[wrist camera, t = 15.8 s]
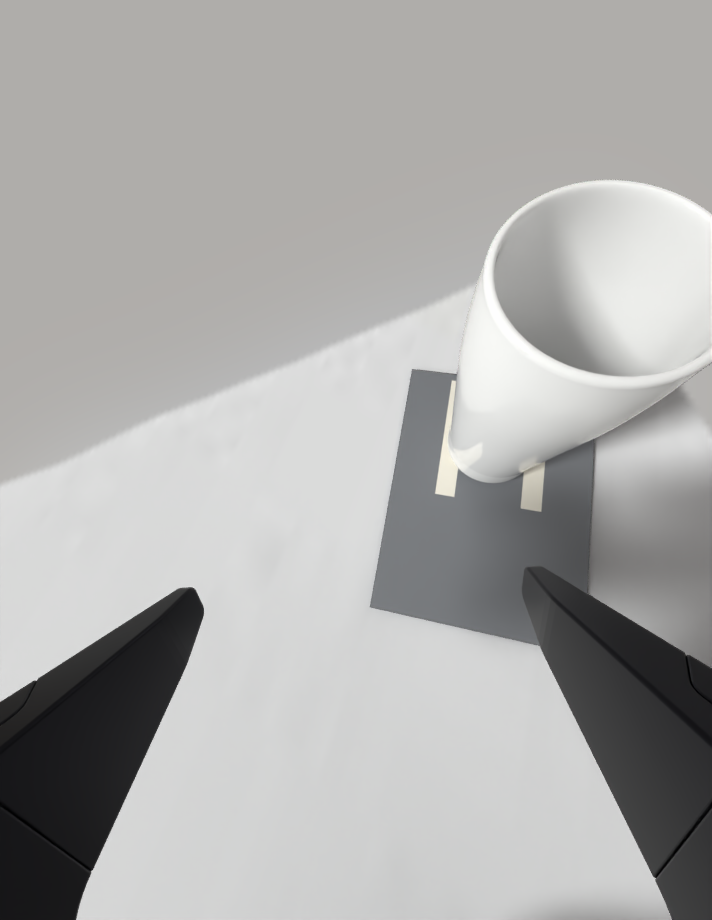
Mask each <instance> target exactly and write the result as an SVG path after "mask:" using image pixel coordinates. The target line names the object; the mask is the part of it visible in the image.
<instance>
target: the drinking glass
mask: <svg viewBox="0 0 712 920" xmlns="http://www.w3.org/2000/svg"><path fill="white" fill-rule="evenodd" d="M711 363H712V214H711V213H710V212H709V211H707V210H706V209H704V208H703V207H702V206H700V205H699V204H697V203H695V202H693V201H692V200H690V199H688V198H686V197H684V196H682V195H680V194H678V193H675V192H672V191H670V190H667V189H664V188H661V187H658V186H655V185H650V184H646V183H641V182H634V181H626V180H594V181H586V182H580V183H575V184H570V185H567V186H563V187H560V188H557V189H555V190H552V191H549V192H547V193H545V194H543V195H540V196H539V197H537V198H535V199H533V200H531V201H530V202H529V203H527V204H525V205H524V206H523V207H521V208H520V209H519V210H518V211H516V212H515V213H514V214H513V215H512V216H511V217H510V218H509V219H508V220H507V221H506V222H505V224H504V225H503V226H502V227H501V228H500V230H499V231H498V233H497V235H496V236H495V238H494V239H493V241H492V243H491V245H490V247H489V250H488V253H487V256H486V259H485V262H484V265H483V268H482V271H481V274H480V277H479V279H478V282H477V285H476V288H475V291H474V294H473V297H472V301H471V304H470V308H469V311H468V315H467V319H466V323H465V327H464V331H463V336H462V341H461V346H460V353H459V360H458V369H457V378H456V387H455V396H454V405H453V413H452V420H451V425H450V428H449V431H448V437H447V444H448V450H449V454H450V456H451V458H452V460H453V462H454V463H455V465H456V466H457V467H458V468H459V469H460V470H461V471H462V472H463V473H464V474H465V475H467V476H468V477H470V478H472V479H474V480H477V481H480V482H484V483H502V482H506V481H509V480H512V479H514V478H516V477H517V476H519V475H521V474H522V473H523V472H525V471H526V470H528V469H530V468H532V467H534V466H536V465H538V464H541V463H543V462H545V461H547V460H549V459H551V458H553V457H556V456H558V455H560V454H562V453H564V452H566V451H569V450H571V449H573V448H575V447H577V446H580V445H582V444H584V443H586V442H588V441H590V440H592V439H595V438H597V437H599V436H601V435H603V434H605V433H607V432H609V431H611V430H612V429H614V428H616V427H618V426H620V425H621V424H623V423H625V422H626V421H628V420H630V419H631V418H633V417H635V416H636V415H638V414H640V413H641V412H643V411H644V410H646V409H648V408H649V407H651V406H652V405H654V404H655V403H657V402H658V401H660V400H661V399H663V398H664V397H665V396H667V395H668V394H670V393H671V392H672V391H674V390H675V389H677V388H678V387H679V386H681V385H682V384H683V383H685V382H686V381H687V380H689V379H690V378H691V377H693V376H694V375H695V374H697V373H698V372H699V371H701V370H702V369H704V368H705V367H707V366H708V365H710V364H711Z"/></svg>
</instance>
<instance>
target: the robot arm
mask: <svg viewBox="0 0 712 920" xmlns="http://www.w3.org/2000/svg"><path fill="white" fill-rule="evenodd" d="M522 596H523V600H524V603H525V605H526V608H527V611H528V614H529V617H530V619H531V622H532V625H533V628H534V631H535V633H536V636H537V639H538V642H539V644H540V647H541V650H542V652H543V654H544V656H545V658H546V660H547V662H548V664H549V667H550V669H551V671H552V673H553V675H554V677H555V679H556V681H557V683H558V685H559V687H560V689H561V691H562V693H563V695H564V697H565V699H566V701H567V703H568V705H569V707H570V709H571V711H572V713H573V715H574V717H575V719H576V721H577V723H578V725H579V727H580V729H581V731H582V733H583V735H584V737H585V739H586V741H587V743H588V745H589V747H590V749H591V752H592V754H593V756H594V758H595V760H596V762H597V764H598V766H599V768H600V770H601V772H602V774H603V776H604V778H605V780H606V782H607V784H608V786H609V788H610V790H611V792H612V794H613V796H614V798H615V800H616V802H617V804H618V806H619V808H620V810H621V812H622V814H623V816H624V818H625V820H626V822H627V824H628V826H629V828H630V830H631V832H632V834H633V837H634V839H635V841H636V843H637V845H638V847H639V849H640V851H641V853H642V855H643V857H644V859H645V861H646V863H647V865H648V867H649V869H650V871H651V873H652V875H653V877H655V878H656V879H655V881H656V883H657V885H658V887H659V889H660V892H661V894H662V896H663V898H664V901H665V903H666V905H667V908H668V910H669V913H670V915H671V918H672V920H712V668H710V667H708V666H707V665H705V664H703V663H702V662H700V661H698V660H697V659H695V658H694V657H692V656H690V655H687V656H686V654H685V653H684V652H683V651H681V650H679V649H678V648H676V647H674V646H673V645H671V644H669V643H668V642H666V641H664V640H663V639H661V638H660V637H658V636H656V635H655V634H653V633H651V632H650V631H648V630H646V629H645V628H643V627H641V626H640V625H638V624H636V623H635V622H633V621H632V620H630V619H628V618H627V617H625V616H623V615H622V614H620V613H618V612H617V611H615V610H613V609H612V608H610V607H609V606H607V605H605V604H604V603H602V602H600V601H599V600H597V599H595V598H594V597H592V596H590V595H589V594H587V593H585V592H584V591H582V590H581V589H579V588H577V587H576V586H574V585H572V584H571V583H569V582H567V581H566V580H564V579H562V578H561V577H559V576H558V575H556V574H554V573H553V572H551V571H549V570H548V569H546V568H544V567H542V566H527V567H526V568H525V569H524V574H523V583H522ZM203 616H204V607H203V605H202V603H201V600H200V598H199V596H198V594H197V592H196V590H195V589H194V588H192V587H188V588H179V589H177V590H175V591H174V592H172V593H171V594H169V595H168V596H166V597H165V598H163V599H161V600H160V601H158V602H157V603H155V604H154V605H152V606H151V607H149V608H147V609H146V610H144V611H143V612H141V613H140V614H138V615H136V616H135V617H133V618H132V619H130V620H129V621H127V622H126V623H124V624H122V625H121V626H119V627H118V628H116V629H115V630H113V631H112V632H110V633H108V634H107V635H105V636H104V637H102V638H101V639H99V640H97V641H96V642H94V643H93V644H91V645H90V646H88V647H87V648H85V649H83V650H82V651H80V652H79V653H77V654H76V655H74V656H73V657H71V658H69V659H68V660H66V661H65V662H63V663H62V664H60V665H58V666H57V667H55V668H54V669H52V670H51V671H49V672H48V673H46V674H44V675H43V676H41V677H40V678H38V680H37V681H33V682H31V683H29V684H28V685H26V686H25V687H23V688H22V689H20V690H19V691H17V692H15V693H14V694H12V695H11V696H9V697H7V698H6V699H4V700H3V701H1V702H0V920H76V918H77V913H78V909H79V905H80V901H81V898H82V895H83V892H84V890H85V887H86V884H87V882H88V880H89V877H90V875H91V871H92V870H93V868H94V866H95V864H96V862H97V860H98V858H99V855H100V853H101V851H102V849H103V847H104V844H105V842H106V840H107V838H108V836H109V834H110V831H111V829H112V827H113V825H114V823H115V821H116V818H117V816H118V814H119V812H120V810H121V807H122V805H123V803H124V801H125V799H126V797H127V794H128V792H129V790H130V788H131V786H132V783H133V781H134V779H135V777H136V775H137V773H138V770H139V768H140V766H141V764H142V762H143V759H144V757H145V755H146V753H147V751H148V749H149V746H150V744H151V742H152V740H153V738H154V735H155V733H156V731H157V729H158V727H159V725H160V722H161V720H162V718H163V716H164V714H165V711H166V709H167V707H168V705H169V703H170V701H171V698H172V696H173V694H174V692H175V690H176V687H177V685H178V683H179V681H180V679H181V677H182V674H183V672H184V670H185V667H186V665H187V663H188V660H189V657H190V654H191V651H192V648H193V646H194V643H195V640H196V637H197V634H198V631H199V628H200V625H201V622H202V619H203Z"/></svg>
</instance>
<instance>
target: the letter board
mask: <svg viewBox="0 0 712 920" xmlns="http://www.w3.org/2000/svg"><path fill="white" fill-rule="evenodd" d="M456 378H457V374H448V373H440V372H432V371H423V370H415V369H412V374H411V379H410V385H409V391H408V396H407V402H406V408H405V413H404V419H403V424H402V430H401V436H400V441H399V447H398V452H397V458H396V464H395V469H394V475H393V480H392V486H391V492H390V497H389V503H388V508H387V514H386V520H385V525H384V531H383V537H382V542H381V548H380V553H379V559H378V565H377V570H376V576H375V581H374V587H373V593H372V598H371V604H370V607H371V608H375V609H380V610H384V611H389V612H393V613H397V614H402V615H406V616H411V617H415V618H420V619H424V620H428V621H433V622H437V623H442V624H446V625H450V626H455V627H459V628H464V629H468V630H472V631H477V632H481V633H486V634H490V635H494V636H499V637H503V638H508V639H512V640H517V641H521V642H525V643H530V644H534V645H539V646H540V644H539V642H538V639H537V636H536V633H535V631H534V628H533V625H532V622H531V619H530V617H529V614H528V611H527V608H526V605H525V603H524V600H523V596H522V583H523V574H524V569H525V568H526V567H527V566H542V567H544V568H546V569H548V570H549V571H551V572H553V573H554V574H556V575H558V576H559V577H561V578H562V579H564V580H566V581H567V582H569V583H571V584H572V585H574V586H576V587H577V588H579V589H581V590H582V591H584V592H585V593H587V591H588V569H589V546H590V523H591V501H592V478H593V456H594V439H592V440H590V441H588V442H586V443H584V444H582V445H580V446H577V447H575V448H573V449H571V450H569V451H566V452H564V453H562V454H560V455H558V456H556V457H553V458H551V459H549V460H547V461H545V462H543V463H541V464H538V465H536V466H534V467H532V468H530V469H528V470H526V471H525V472H523V473H522V474H521V475H519V476H517V477H516V478H514V479H512V480H509V481H506V482H502V483H484V482H480V481H477V480H474V479H472V478H470V477H468V476H467V475H465V474H464V473H463V472H462V471H461V470H460V469H459V468H458V467H457V466H456V465H455V463H454V462H453V460H452V458H451V456H450V454H449V450H448V444H447V437H448V431H449V428H450V425H451V420H452V413H453V405H454V396H455V387H456Z"/></svg>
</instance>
